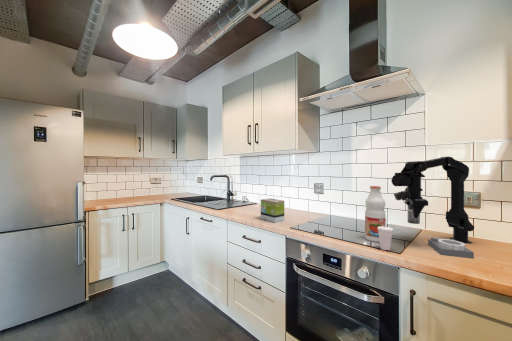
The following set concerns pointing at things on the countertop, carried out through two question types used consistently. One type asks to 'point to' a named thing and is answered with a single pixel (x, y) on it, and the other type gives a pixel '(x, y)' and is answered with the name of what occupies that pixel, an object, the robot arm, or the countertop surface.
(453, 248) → the camera body
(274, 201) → the tea box
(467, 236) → the robot arm
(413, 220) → the lens
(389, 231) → the smoothie
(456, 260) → the countertop surface
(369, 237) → the fruit juice
